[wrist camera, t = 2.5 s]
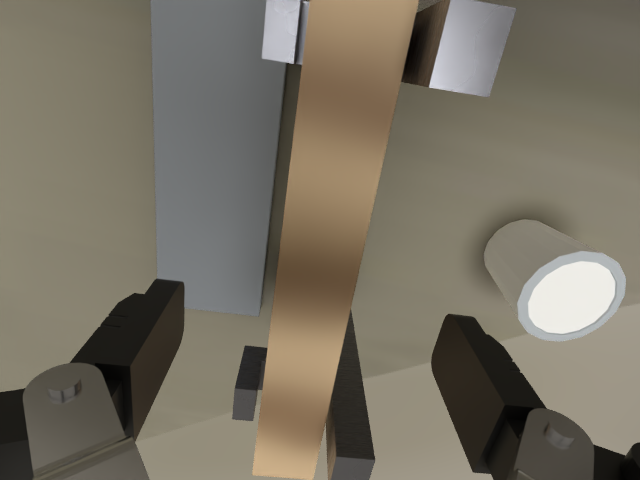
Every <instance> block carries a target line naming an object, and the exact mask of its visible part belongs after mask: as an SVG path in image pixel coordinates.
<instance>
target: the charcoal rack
mask: <svg viewBox="0 0 640 480" xmlns="http://www.w3.org/2000/svg"><path fill="white" fill-rule="evenodd" d="M309 3H310V2H308V1H303V0H267V1H266V13H265V25H264V37H263V50H262V59H268V60H274V61H280V62H286V63H292V64H300V65H302V61H303V53H304V44H305V36H306V28H307V20H308V11H309ZM516 9H517V8H512V7H507V6H502V5H496V4H491V3H486V2H480V1H475V0H443V1H441V2H438V3H436V4H434V5H432V6H430V7H428V8H426V9H424V10H422V11H420V12H418V13H416V16H415V20H414V25H413V29H412V34H411V38H410V43H409V47H408V52H407V56H406V61H405V65H404V70H403V74H402V79H401V82H405V83H410V84H415V85H420V86H425V87H431V88H437V89H443V90H449V91H455V92H461V93H467V94H473V95H479V96H485V97H489V95H490V92H491V88H492V85H493V82H494V79H495V76H496V73H497V69H498V66H499V63H500V60H501V57H502V53H503V50H504V47H505V44H506V41H507V37H508V34H509V31H510V28H511V25H512V21H513V18H514V15H515V12H516ZM267 349H268V348H263V347H254V346H245V347H244V352H243V356H242V360H241V364H240V369H239V373H238V377H237V381H236V386H235V392H234V404H233V417H232V419H235V420H246V421H253V418H254V411H255V406H256V400H257V393H258V390H263V382H264V374H265V366H266V357H267ZM326 440H327V464H328V480H369V478H370V475H371V472H372V468H373V465H374V462H375V456H374V450H373V443H372V437H371V431H370V425H369V418H368V412H367V406H366V400H365V394H364V387H363V381H362V375H361V369H360V362H359V356H358V350H357V344H356V338H355V331H354V325H353V319H352V313H351V309H350V314H349V319H348V323H347V328H346V332H345V337H344V341H343V346H342V350H341V355H340V359H339V364H338V368H337V373H336V377H335V382H334V386H333V391H332V395H331V400H330V404H329V409H328V413H327V418H326Z"/></svg>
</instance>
